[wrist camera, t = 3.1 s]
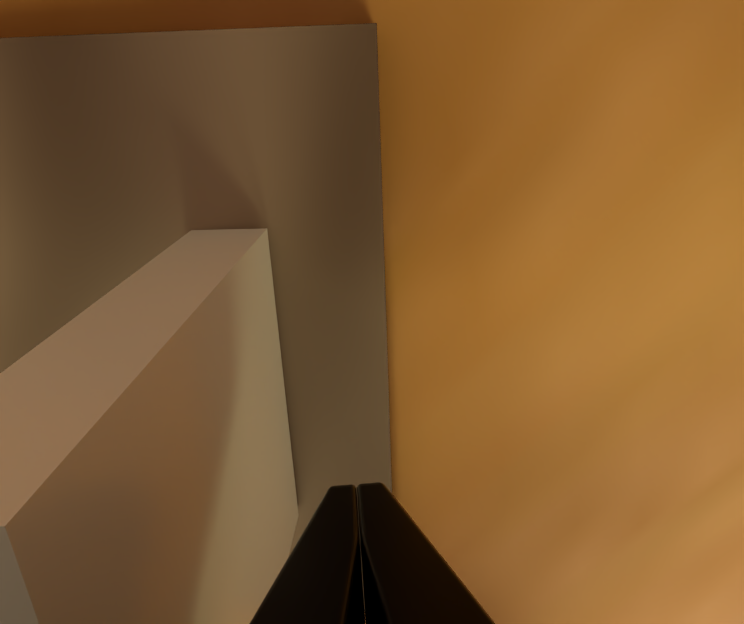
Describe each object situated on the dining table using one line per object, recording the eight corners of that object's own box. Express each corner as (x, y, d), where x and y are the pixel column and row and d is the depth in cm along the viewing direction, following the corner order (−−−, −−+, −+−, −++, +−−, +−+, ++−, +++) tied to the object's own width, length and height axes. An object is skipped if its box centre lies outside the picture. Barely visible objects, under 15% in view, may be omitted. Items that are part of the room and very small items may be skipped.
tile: (267, 228, 11) (4, 526, 4) (298, 514, 14) (175, 1011, 7) (183, 230, 11) (-222, 524, 4) (230, 514, 14) (36, 1000, 7)
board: (374, 25, 11) (376, 23, 10) (393, 590, 16) (395, 608, 16) (-428, 57, 10) (-470, 56, 10) (-133, 631, 16) (-150, 652, 15)
